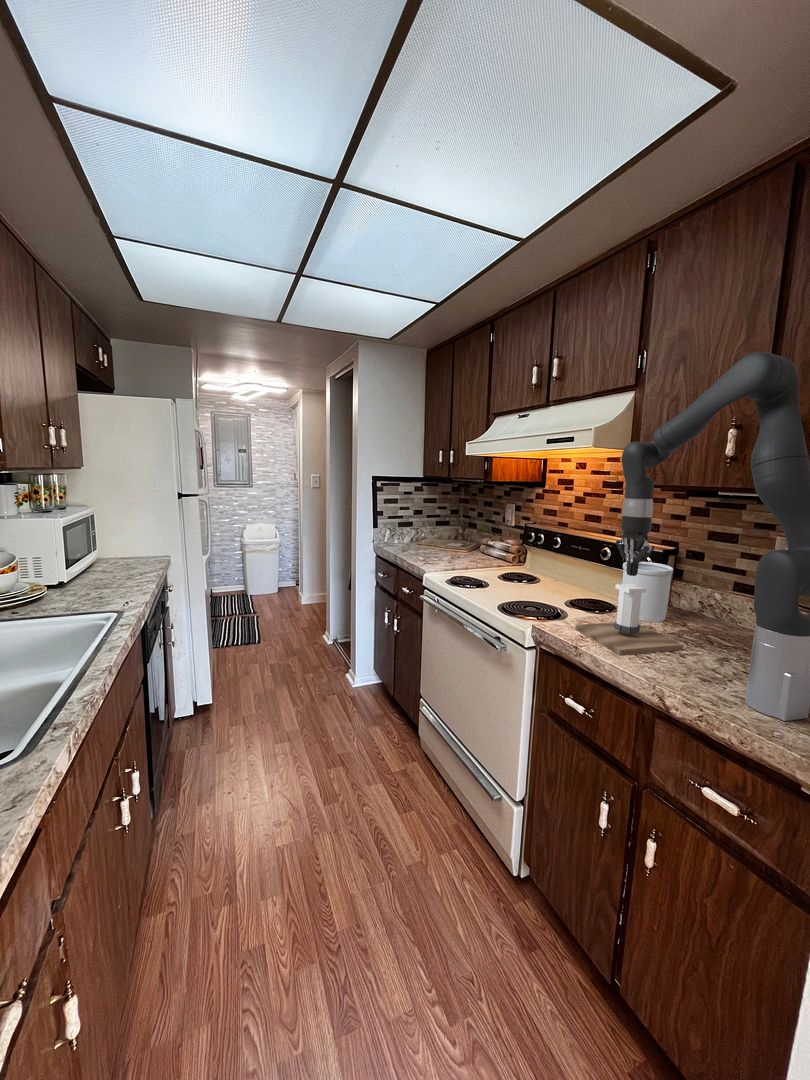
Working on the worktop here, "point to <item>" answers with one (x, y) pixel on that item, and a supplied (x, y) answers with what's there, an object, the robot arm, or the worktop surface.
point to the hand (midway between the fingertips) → (631, 575)
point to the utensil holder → (651, 589)
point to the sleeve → (629, 604)
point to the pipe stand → (628, 639)
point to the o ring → (627, 628)
